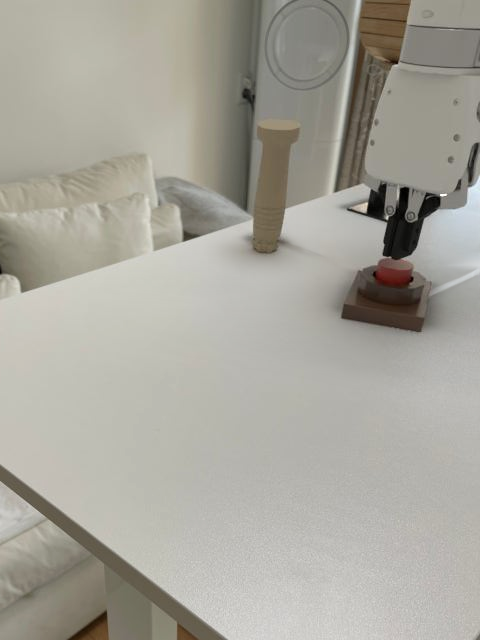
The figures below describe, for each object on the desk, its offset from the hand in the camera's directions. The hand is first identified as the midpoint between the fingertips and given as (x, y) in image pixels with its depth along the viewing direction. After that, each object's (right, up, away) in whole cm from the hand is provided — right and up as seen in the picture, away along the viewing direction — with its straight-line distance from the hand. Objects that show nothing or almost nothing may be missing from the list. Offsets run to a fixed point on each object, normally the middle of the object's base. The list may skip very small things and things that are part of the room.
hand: (397, 255), depth 67 cm
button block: (0, -5, +3) cm, 6 cm away
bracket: (+9, +13, +29) cm, 34 cm away
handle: (-11, +5, +17) cm, 21 cm away
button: (0, -2, +2) cm, 3 cm away
